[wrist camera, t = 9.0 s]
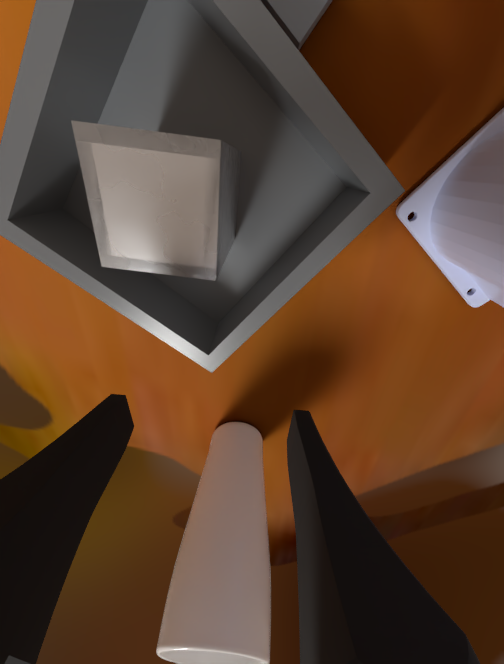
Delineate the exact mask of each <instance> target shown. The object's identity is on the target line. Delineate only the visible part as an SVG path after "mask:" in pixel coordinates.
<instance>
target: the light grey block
mask: <svg viewBox="0 0 504 664" xmlns="http://www.w3.org/2000/svg"><path fill="white" fill-rule="evenodd" d="M71 122H72V127H73V132H74V137H75V142H76V146H77V151H78V156H79V161H80V166H81V170H82V175H83V180H84V185H85V190H86V194H87V199H88V204H89V209H90V214H91V218H92V223H93V228H94V233H95V238H96V242H97V247H98V252H99V257H100V262H101V266H102V267H108V268H116V269H124V270H133V271H141V272H149V273H157V274H165V275H173V276H181V277H189V278H197V279H206V280H214V281H216V279H217V277H218V275H219V273H220V271H221V268H222V266H223V264H224V262H225V260H226V258H227V255H228V253H229V251H230V249H231V247H232V245H233V242H234V240H235V228H236V214H237V200H238V186H239V172H240V158H241V151H239V150H238V149H236V148H234V147H232V146H231V145H229V144H227V143H225V142H224V141H222V140H217V139H210V138H202V137H194V136H187V135H179V134H172V133H164V132H156V131H149V130H141V129H133V128H126V127H118V126H111V125H103V124H95V123H88V122H80V121H72V120H71Z"/></svg>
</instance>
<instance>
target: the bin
mask: <svg viewBox="0 0 504 664" xmlns="http://www.w3.org/2000/svg"><path fill="white" fill-rule="evenodd" d="M71 120H72V121H80V122H88V123H95V124H103V125H111V126H118V127H126V128H133V129H141V130H149V131H156V132H164V133H172V134H179V135H187V136H194V137H202V138H210V139H217V140H222V141H224V142H225V143H227V144H229V145H231V146H232V147H234V148H236V149H238V150H239V151H241V158H240V172H239V186H238V200H237V214H236V228H235V240H234V242H233V245H232V247H231V249H230V251H229V253H228V255H227V258H226V260H225V262H224V264H223V266H222V268H221V271H220V273H219V275H218V277H217V279H216V281H214V280H206V279H197V278H189V277H181V276H173V275H165V274H157V273H149V272H141V271H133V270H124V269H116V268H108V267H102V266H101V262H100V257H99V252H98V247H97V242H96V238H95V233H94V228H93V223H92V218H91V214H90V209H89V204H88V199H87V194H86V190H85V185H84V180H83V175H82V170H81V166H80V161H79V156H78V151H77V146H76V142H75V137H74V132H73V127H72V122H71ZM404 191H405V190H404V188H403V187H402V186H401V184H400V183H399V182H398V181H397V179H396V178H395V177H394V175H393V174H392V173H391V171H390V170H389V169H388V167H387V166H386V165H385V163H384V162H383V161H382V160H381V158H380V157H379V156H378V154H377V153H376V152H375V150H374V149H373V148H372V146H371V145H370V144H369V142H368V141H367V140H366V139H365V137H364V136H363V135H362V133H361V132H360V131H359V129H358V128H357V127H356V125H355V124H354V123H353V121H352V120H351V119H350V117H349V116H348V115H347V114H346V112H345V111H344V110H343V108H342V107H341V106H340V104H339V103H338V102H337V100H336V99H335V98H334V96H333V95H332V94H331V93H330V91H329V90H328V89H327V87H326V86H325V85H324V83H323V82H322V81H321V79H320V78H319V77H318V75H317V74H316V73H315V72H314V70H313V69H312V68H311V66H310V65H309V64H308V62H307V61H306V60H305V58H304V57H303V56H302V54H301V53H300V52H299V51H298V49H297V48H296V47H295V45H294V44H293V43H292V41H291V40H290V39H289V37H288V36H287V35H286V33H285V32H284V31H283V29H282V28H281V27H280V26H279V24H278V23H277V22H276V20H275V19H274V18H273V16H272V15H271V14H270V12H269V11H268V10H267V8H266V7H265V6H264V5H263V3H262V2H261V1H260V0H36V4H35V8H34V12H33V16H32V20H31V24H30V28H29V32H28V36H27V40H26V44H25V48H24V52H23V56H22V60H21V64H20V68H19V72H18V76H17V80H16V84H15V88H14V92H13V96H12V100H11V104H10V108H9V112H8V116H7V120H6V124H5V128H4V132H3V136H2V140H1V144H0V235H1V236H3V237H4V238H6V239H7V240H9V241H11V242H12V243H14V244H15V245H17V246H18V247H20V248H21V249H23V250H24V251H26V252H27V253H29V254H30V255H32V256H34V257H35V258H37V259H38V260H40V261H41V262H43V263H44V264H46V265H47V266H49V267H50V268H52V269H54V270H55V271H57V272H58V273H60V274H61V275H63V276H64V277H66V278H67V279H69V280H70V281H72V282H73V283H75V284H77V285H78V286H80V287H81V288H83V289H84V290H86V291H87V292H89V293H90V294H92V295H93V296H95V297H96V298H98V299H100V300H101V301H103V302H104V303H106V304H107V305H109V306H110V307H112V308H113V309H115V310H116V311H118V312H120V313H121V314H123V315H124V316H126V317H127V318H129V319H130V320H132V321H133V322H135V323H136V324H138V325H139V326H141V327H143V328H144V329H146V330H147V331H149V332H150V333H152V334H153V335H155V336H156V337H158V338H159V339H161V340H162V341H164V342H166V343H167V344H169V345H170V346H172V347H173V348H175V349H176V350H178V351H179V352H181V353H182V354H184V355H185V356H187V357H189V358H190V359H192V360H193V361H195V362H196V363H198V364H199V365H201V366H202V367H204V368H205V369H207V370H209V371H210V372H213V371H214V370H215V369H216V368H217V367H218V366H219V365H221V364H222V363H223V362H224V361H225V360H226V359H227V358H228V357H229V356H230V355H231V354H232V353H233V352H234V351H235V350H236V349H238V348H239V347H240V346H241V345H242V344H243V343H244V342H245V341H246V340H247V339H248V338H249V337H250V336H251V335H252V334H253V333H254V332H256V331H257V330H258V329H259V328H260V327H261V326H262V325H263V324H264V323H265V322H266V321H267V320H268V319H269V318H270V317H271V316H273V315H274V314H275V313H276V312H277V311H278V310H279V309H280V308H281V307H282V306H283V305H284V304H285V303H286V302H287V301H288V300H290V299H291V298H292V297H293V296H294V295H295V294H296V293H297V292H298V291H299V290H300V289H301V288H302V287H303V286H304V285H305V284H307V283H308V282H309V281H310V280H311V279H312V278H313V277H314V276H315V275H316V274H317V273H318V272H319V271H320V270H321V269H322V268H324V267H325V266H326V265H327V264H328V263H329V262H330V261H331V260H332V259H333V258H334V257H335V256H336V255H337V254H338V253H339V252H341V251H342V250H343V249H344V248H345V247H346V246H347V245H348V244H349V243H350V242H351V241H352V240H353V239H354V238H355V237H356V236H357V235H359V234H360V233H361V232H362V231H363V230H364V229H365V228H366V227H367V226H368V225H369V224H370V223H371V222H372V221H373V220H374V219H376V218H377V217H378V216H379V215H380V214H381V213H382V212H383V211H384V210H385V209H386V208H387V207H388V206H389V205H390V204H391V203H393V202H394V201H395V200H396V199H397V198H398V197H399V196H400V195H401V194H402V193H403V192H404Z"/></svg>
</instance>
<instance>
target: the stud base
mask: <svg viewBox="0 0 504 664" xmlns="http://www.w3.org/2000/svg"><path fill="white" fill-rule="evenodd" d="M260 1H261V2H262V3H263V5H264V6H265V7H266V8H267V10H268V11H269V12H270V14H271V15H272V16H273V18H274V19H275V20H276V22H277V23H278V24H279V26H280V27H281V28H282V29H283V31H284V32H285V33H286V35H287V36H288V37H289V39H290V40H291V41H292V43H293V44H294V45H295V47H296V48H297V49H298V51H299V50H300V48H301V47H302V45H303V44H304V42H305V41H306V39H307V38H308V36H309V35H310V33H311V32H312V30H313V29H314V27H315V26H316V24H317V23H318V21H319V20H320V18H321V17H322V15H323V14H324V12H325V11H326V10H327V8H328V7H329V5H330V4H331V2H332V1H333V0H260Z"/></svg>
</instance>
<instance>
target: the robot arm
mask: <svg viewBox="0 0 504 664" xmlns="http://www.w3.org/2000/svg"><path fill="white" fill-rule="evenodd" d="M411 212H414V217H413V218H412V219H411V220H408V215H409V214H410V213H411ZM396 215H397V217H398V218H399V219H400V221H401V222H402V223H403V224H404V226H405V227H406V228H407V229H408V230H409V232H410V233H411V234H412V235H413V237H414V238H415V239H416V240H417V242H418V243H419V244H420V245H421V247H422V248H423V249H424V250H425V252H426V253H427V254H428V255H429V256H430V258H431V259H432V260H433V261H434V263H435V264H436V265H437V266H438V268H439V269H440V270H441V271H442V273H443V274H444V275H445V276H446V277H447V279H448V280H449V281H450V282H451V284H452V285H453V286H454V287H455V289H456V290H457V291H458V292H459V294H460V295H461V296H462V297H463V299H464V300H465V301H466V302H467V303H468V304H469V305H470V306H472V307H479V306H481V305H483V304H484V303H486V302H487V301H489V300H492V301H494V302H496V303H497V304H499V305H501V306H502V307H504V107H503V108H502V109H501V110H500V111H499V112H498V113H497V114H496V115H495V116H494V117H493V118H492V119H490V120H489V121H488V122H487V123H486V124H485V125H484V126H483V127H482V128H481V129H480V130H479V131H478V132H476V133H475V134H474V135H473V136H472V137H471V138H470V139H469V140H468V141H467V142H466V143H465V144H464V145H462V146H461V147H460V148H459V149H458V150H457V151H456V152H455V153H454V154H453V155H452V156H451V157H450V158H448V159H447V160H446V161H445V162H444V163H443V164H442V165H441V166H440V167H439V168H438V169H437V170H435V171H434V172H433V173H432V174H431V175H430V176H429V177H428V178H427V179H426V180H425V181H424V182H423V183H421V184H420V185H419V186H418V187H417V188H416V189H415V190H414V191H413V192H412V193H411V194H410V195H409V196H407V197H406V198H405V199H404V200H403V201H402V202H401V203H400V204H399V205H398V207H397V209H396ZM471 288H472V290H471V291H470V292H468V293H467V291H468V290H469V289H471ZM133 428H134V424H133V421H132V417H131V413H130V410H129V406H128V402H127V399H126V395H117V394H111V395H110V396H109V397H107V398H106V399H105V400H104V401H102V402H101V403H100V404H99V405H98V406H96V407H95V408H94V409H93V410H92V411H90V412H89V413H88V414H87V415H86V416H84V417H83V418H82V419H81V420H80V421H78V422H77V423H76V424H75V425H74V426H72V427H71V428H70V429H69V430H67V431H66V432H65V433H64V434H62V435H61V436H60V437H59V438H57V439H56V440H55V441H54V442H52V443H51V444H50V445H48V446H47V447H46V448H44V449H43V450H42V451H40V452H39V453H38V454H36V455H35V456H34V457H32V458H31V459H30V460H28V461H27V462H25V463H24V464H23V465H21V466H20V467H19V468H17V469H15V470H14V471H12V472H11V473H9V474H8V475H7V476H5V477H4V478H2V479H0V664H36V661H37V658H38V655H39V652H40V649H41V646H42V643H43V640H44V637H45V635H46V631H47V629H48V626H49V623H50V620H51V617H52V614H53V611H54V609H55V606H56V603H57V601H58V598H59V595H60V592H61V590H62V587H63V584H64V582H65V579H66V576H67V574H68V571H69V569H70V566H71V564H72V561H73V559H74V556H75V553H76V551H77V549H78V546H79V544H80V541H81V539H82V536H83V534H84V532H85V529H86V527H87V524H88V522H89V520H90V517H91V515H92V513H93V511H94V509H95V507H96V505H97V503H98V501H99V499H100V497H101V496H102V494H103V492H104V490H105V488H106V486H107V484H108V482H109V480H110V478H111V476H112V474H113V473H114V471H115V469H116V467H117V465H118V463H119V461H120V459H121V457H122V455H123V453H124V451H125V449H126V447H127V444H128V442H129V439H130V436H131V434H132V431H133ZM287 458H288V471H289V479H290V487H291V495H292V503H293V511H294V519H295V528H296V542H297V564H298V591H299V625H300V664H480V662H479V660H478V658H477V656H476V654H475V653H474V650H473V648H472V646H471V644H470V642H469V641H468V639H467V637H466V635H465V633H464V632H463V631H462V630H461V629H460V628H459V627H458V626H457V624H456V623H455V622H454V621H453V620H452V619H451V618H450V617H449V616H448V614H447V613H446V612H445V611H444V610H443V609H442V608H441V607H440V605H439V604H438V603H437V602H436V601H435V600H434V599H433V598H432V597H431V595H430V594H429V593H428V592H427V591H426V590H425V588H424V587H423V586H422V585H421V583H420V582H419V581H418V580H417V579H416V577H415V576H414V575H413V574H412V573H411V572H410V570H409V569H408V568H407V567H406V566H405V564H404V563H403V562H402V561H401V559H400V558H399V557H398V555H397V554H396V553H395V551H394V550H393V549H392V548H391V546H390V545H389V544H388V543H387V541H386V540H385V539H384V537H383V536H382V535H381V534H380V532H379V531H378V529H377V528H376V527H375V525H374V524H373V523H372V521H371V520H370V518H369V517H368V516H367V514H366V513H365V511H364V510H363V508H362V507H361V505H360V504H359V503H358V501H357V499H356V498H355V496H354V495H353V493H352V492H351V490H350V489H349V487H348V485H347V484H346V482H345V480H344V479H343V477H342V475H341V474H340V472H339V470H338V469H337V467H336V465H335V463H334V461H333V460H332V458H331V456H330V454H329V452H328V450H327V448H326V446H325V445H324V443H323V441H322V438H321V436H320V434H319V432H318V430H317V428H316V426H315V423H314V421H313V419H312V416H311V414H310V412H309V411H303V410H294V411H293V416H292V420H291V425H290V429H289V433H288V438H287Z"/></svg>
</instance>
